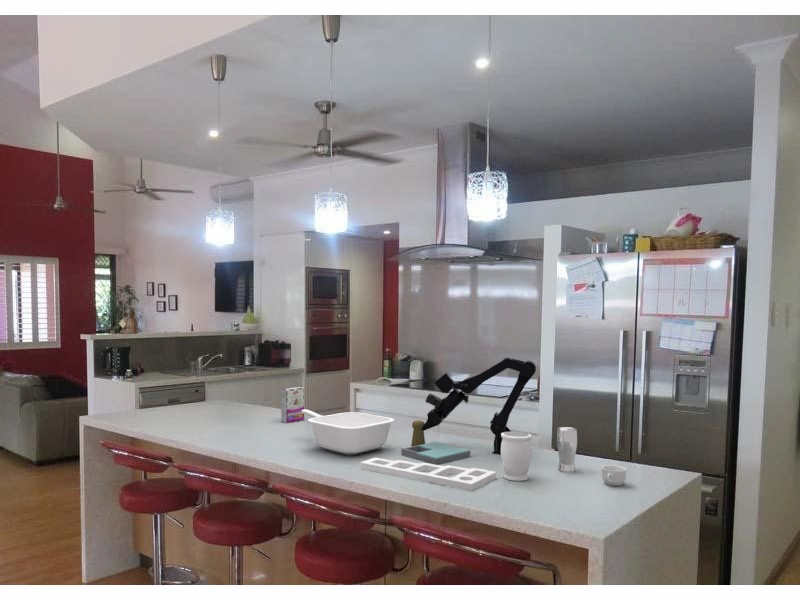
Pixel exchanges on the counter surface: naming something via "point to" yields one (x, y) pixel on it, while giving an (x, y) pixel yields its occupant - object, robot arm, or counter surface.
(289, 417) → the candy bar box
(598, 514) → the counter surface
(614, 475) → the teacup
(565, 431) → the beer glass
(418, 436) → the brown waisted cylinder
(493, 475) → the holder
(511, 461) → the jar
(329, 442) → the pot
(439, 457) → the teal gray square board
